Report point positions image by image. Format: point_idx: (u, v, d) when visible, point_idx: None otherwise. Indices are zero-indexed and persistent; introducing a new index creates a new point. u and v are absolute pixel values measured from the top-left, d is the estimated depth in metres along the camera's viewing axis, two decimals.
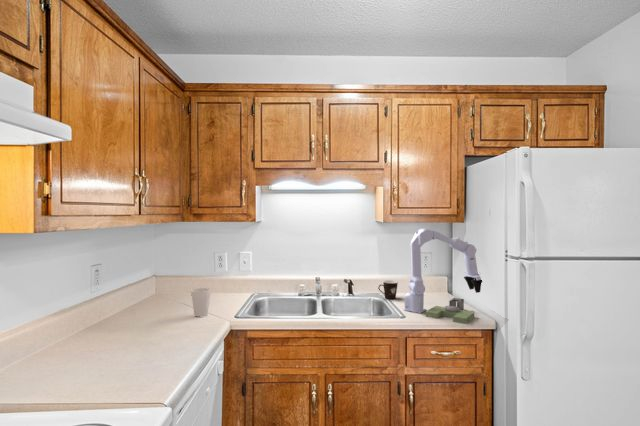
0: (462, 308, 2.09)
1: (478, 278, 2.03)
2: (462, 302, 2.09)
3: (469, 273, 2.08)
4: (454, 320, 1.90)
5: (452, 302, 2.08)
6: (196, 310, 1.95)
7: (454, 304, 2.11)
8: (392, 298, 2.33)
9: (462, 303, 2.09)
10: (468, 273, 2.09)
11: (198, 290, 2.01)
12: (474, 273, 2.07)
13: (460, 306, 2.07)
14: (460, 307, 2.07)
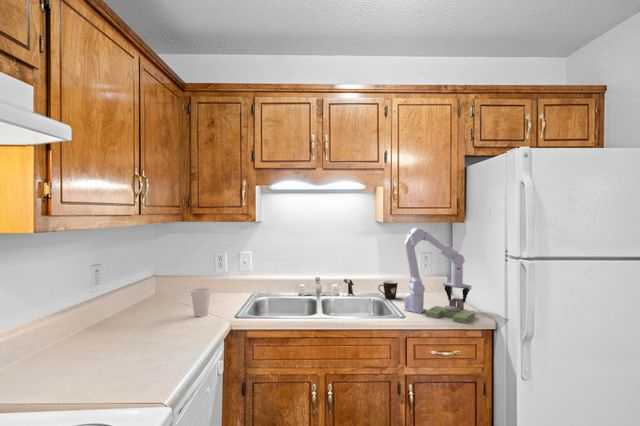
0: (462, 308, 2.09)
1: (470, 287, 2.05)
2: (462, 302, 2.09)
3: (458, 283, 2.06)
4: (454, 320, 1.90)
5: (452, 302, 2.08)
6: (196, 310, 1.95)
7: (454, 304, 2.11)
8: (392, 298, 2.33)
9: (462, 303, 2.09)
10: (457, 283, 2.06)
11: (198, 290, 2.01)
12: (462, 283, 2.07)
13: (460, 306, 2.07)
14: (460, 307, 2.07)
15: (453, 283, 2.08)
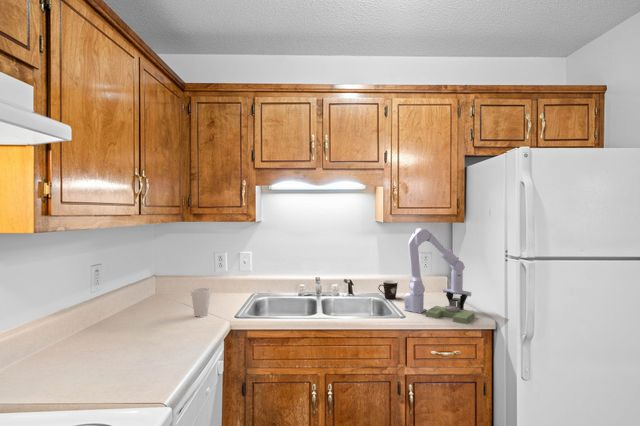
0: None
1: (470, 294, 2.05)
2: None
3: (458, 289, 2.06)
4: (454, 320, 1.90)
5: (452, 302, 2.08)
6: (196, 310, 1.95)
7: (454, 304, 2.11)
8: (392, 298, 2.33)
9: None
10: (457, 290, 2.06)
11: (198, 290, 2.01)
12: (462, 289, 2.07)
13: (460, 306, 2.07)
14: (460, 307, 2.07)
15: (453, 289, 2.08)
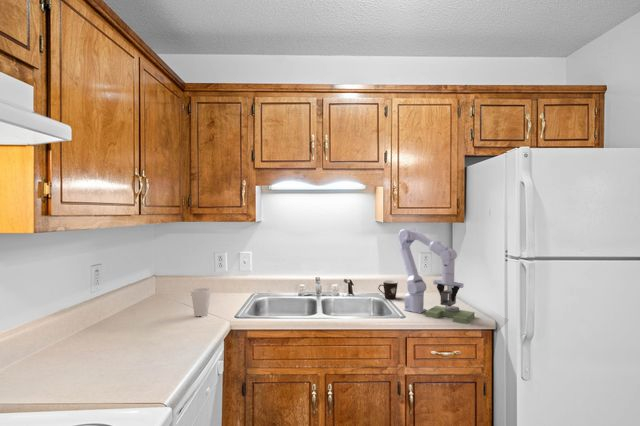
0: (454, 301, 1.97)
1: (462, 285, 1.91)
2: None
3: (450, 281, 1.93)
4: (454, 320, 1.90)
5: (443, 294, 1.96)
6: (196, 310, 1.95)
7: (446, 297, 1.98)
8: (392, 298, 2.33)
9: None
10: (448, 281, 1.93)
11: (198, 290, 2.01)
12: (453, 281, 1.94)
13: None
14: None
15: (444, 281, 1.94)
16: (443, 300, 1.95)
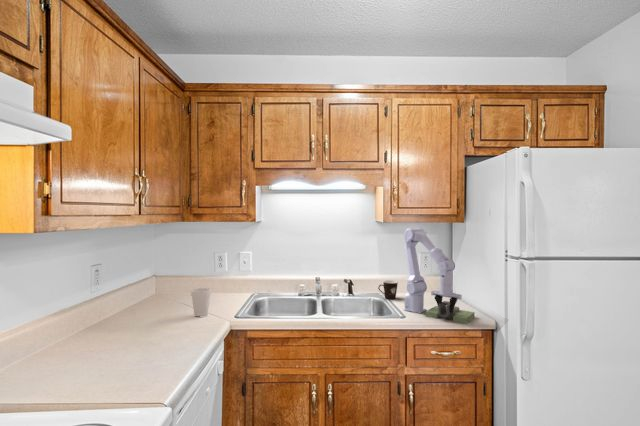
0: None
1: (460, 297, 1.89)
2: None
3: (448, 292, 1.91)
4: (454, 320, 1.90)
5: (441, 305, 1.93)
6: (196, 310, 1.95)
7: (444, 308, 1.96)
8: (392, 298, 2.33)
9: None
10: (446, 292, 1.91)
11: (198, 290, 2.01)
12: (451, 292, 1.92)
13: None
14: None
15: (442, 292, 1.92)
16: (441, 311, 1.93)
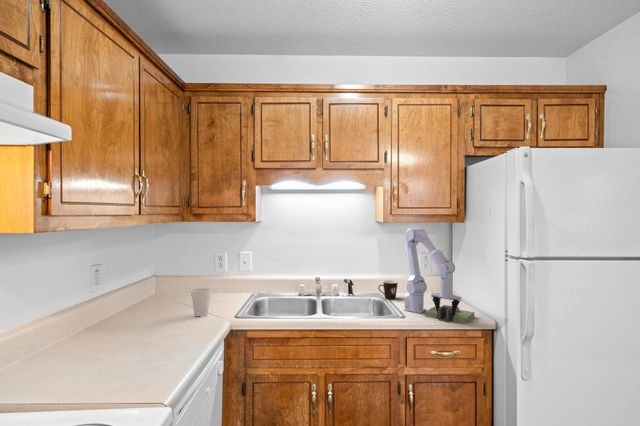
0: (452, 316, 1.94)
1: (460, 299, 1.89)
2: None
3: (448, 294, 1.91)
4: (454, 320, 1.90)
5: (441, 310, 1.93)
6: (196, 310, 1.95)
7: (444, 312, 1.96)
8: (392, 298, 2.33)
9: None
10: (446, 294, 1.91)
11: (198, 290, 2.01)
12: (451, 294, 1.92)
13: (450, 314, 1.91)
14: (450, 315, 1.91)
15: (442, 294, 1.92)
16: (441, 316, 1.93)
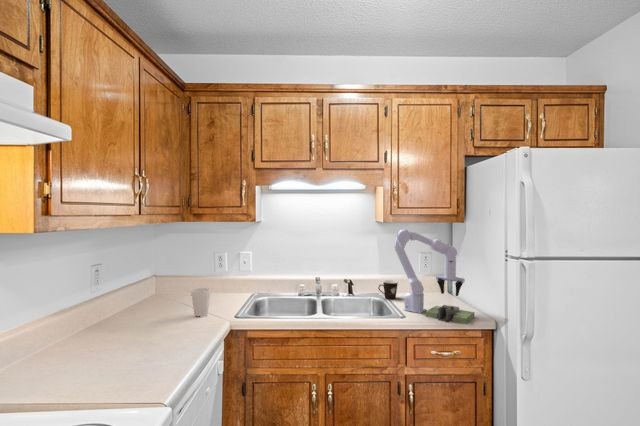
0: (452, 316, 1.94)
1: (463, 280, 2.02)
2: (452, 310, 1.94)
3: (451, 276, 2.03)
4: (454, 320, 1.90)
5: (441, 310, 1.93)
6: (196, 310, 1.95)
7: (444, 312, 1.96)
8: (392, 298, 2.33)
9: (452, 311, 1.94)
10: (450, 276, 2.03)
11: (198, 290, 2.01)
12: (455, 276, 2.04)
13: (450, 314, 1.91)
14: (450, 315, 1.91)
15: (446, 276, 2.05)
16: (441, 316, 1.93)
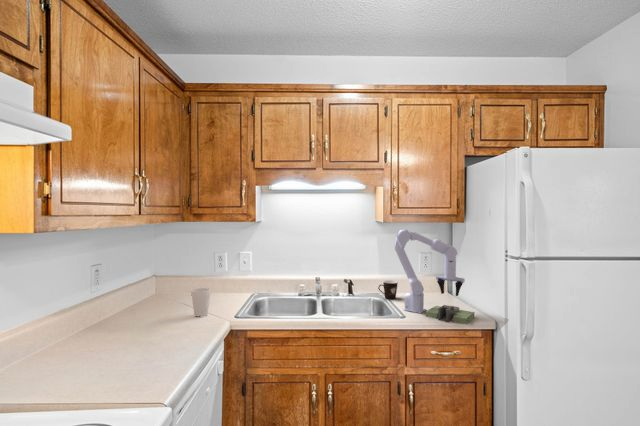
0: (452, 316, 1.94)
1: (463, 280, 2.02)
2: (452, 310, 1.94)
3: (451, 276, 2.03)
4: (454, 320, 1.90)
5: (441, 310, 1.93)
6: (196, 310, 1.95)
7: (444, 312, 1.96)
8: (392, 298, 2.33)
9: (452, 311, 1.94)
10: (450, 276, 2.03)
11: (198, 290, 2.01)
12: (455, 276, 2.04)
13: (450, 314, 1.91)
14: (450, 315, 1.91)
15: (446, 276, 2.05)
16: (441, 316, 1.93)
